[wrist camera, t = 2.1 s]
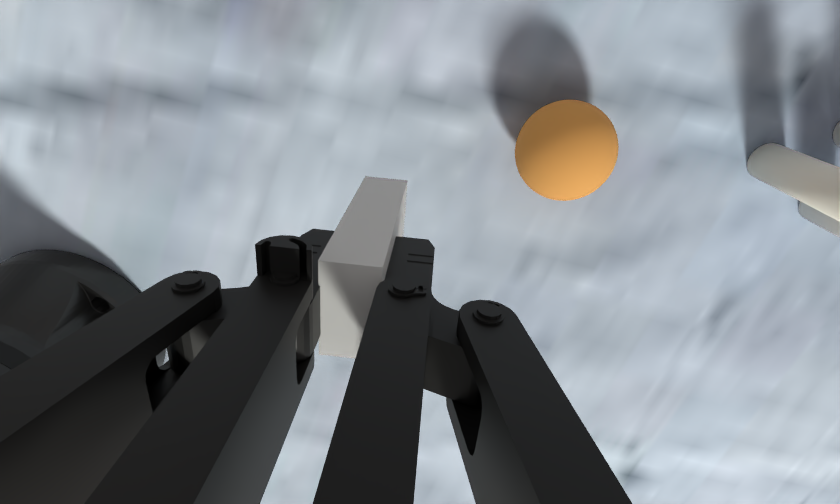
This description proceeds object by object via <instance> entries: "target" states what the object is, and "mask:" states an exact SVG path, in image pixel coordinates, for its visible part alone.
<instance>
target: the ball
mask: <svg viewBox="0 0 840 504" xmlns="http://www.w3.org/2000/svg"><path fill="white" fill-rule="evenodd" d="M617 156H618V138H617V134H616V131H615V128H614V126H613V124H612V122H611V121H610V119H609V118H608V117H607V116H606V115H605V114H604V113H603V112H602V111H601V110H600V109H598V108H597V107H596V106H594V105H592V104H590V103H586V102H583V101H579V100H560V101H556V102H553V103H550V104H547V105H545V106H544V107H542V108H540V109H539V110H537V111H536V112H535V113H534V114H532V115H531V116H530V117H529V119H528V120H527V121H526V122H525V124H524V125H523V127H522V129H521V130H520V133H519V135H518V138H517V141H516V147H515V159H516V165H517V168H518V171H519V173H520V176H521V177H522V179H523V180H524V182H525V183H526V184H527V185H528V186H529V187H530V188H531V189H532V190H533V191H535V192H536V193H538V194H539V195H541V196H544V197H546V198H549V199H553V200H563V201H566V200H574V199H578V198H581V197H584V196H586V195H588V194H590V193H592V192H594V191H595V190H596V189H598V188H599V187H600V186H601V185H602V184H603V183H604V182H605V181H606V180H607V179H608V177H609V176H610V174H611V173H612V171H613V169H614V166H615V163H616V160H617Z"/></svg>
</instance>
